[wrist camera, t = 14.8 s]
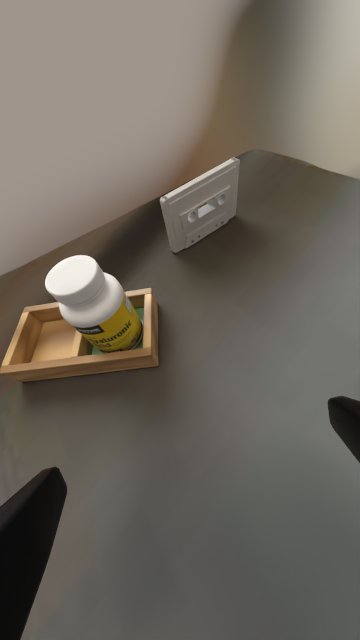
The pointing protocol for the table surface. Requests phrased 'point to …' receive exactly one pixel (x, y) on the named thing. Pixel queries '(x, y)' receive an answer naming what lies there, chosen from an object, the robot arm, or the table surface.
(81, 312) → the supplement bottle
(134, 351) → the tray
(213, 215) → the cassette
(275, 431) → the table surface
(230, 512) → the table surface
